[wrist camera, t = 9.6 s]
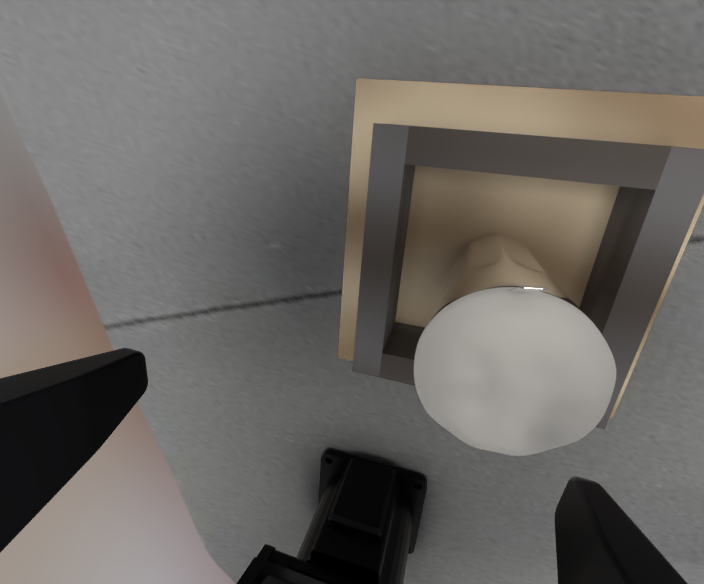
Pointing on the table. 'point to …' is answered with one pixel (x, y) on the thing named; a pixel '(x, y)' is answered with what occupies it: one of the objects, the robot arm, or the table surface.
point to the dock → (515, 205)
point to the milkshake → (511, 355)
